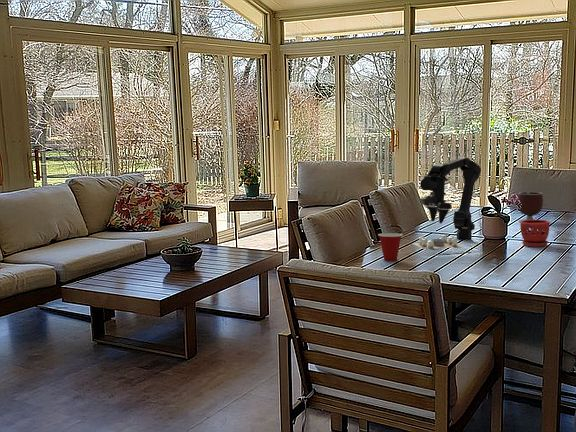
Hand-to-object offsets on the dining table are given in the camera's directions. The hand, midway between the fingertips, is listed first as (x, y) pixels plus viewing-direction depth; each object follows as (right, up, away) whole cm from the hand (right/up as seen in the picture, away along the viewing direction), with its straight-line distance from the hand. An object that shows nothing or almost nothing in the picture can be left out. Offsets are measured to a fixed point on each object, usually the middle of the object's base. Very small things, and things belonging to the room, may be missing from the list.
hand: (436, 222), depth 311 cm
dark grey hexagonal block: (+1, -11, +1) cm, 11 cm away
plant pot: (+47, -11, -1) cm, 49 cm away
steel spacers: (+1, -11, +1) cm, 11 cm away
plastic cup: (-26, -17, -22) cm, 38 cm away
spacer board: (+1, -12, +2) cm, 12 cm away
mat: (+3, -14, -10) cm, 18 cm away
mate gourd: (+70, -1, +65) cm, 95 cm away
